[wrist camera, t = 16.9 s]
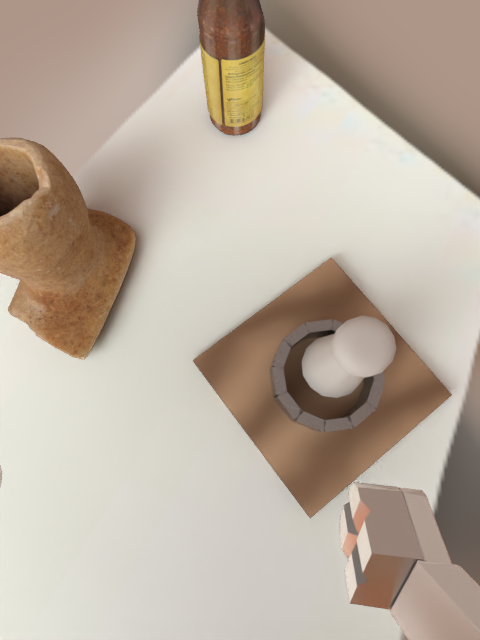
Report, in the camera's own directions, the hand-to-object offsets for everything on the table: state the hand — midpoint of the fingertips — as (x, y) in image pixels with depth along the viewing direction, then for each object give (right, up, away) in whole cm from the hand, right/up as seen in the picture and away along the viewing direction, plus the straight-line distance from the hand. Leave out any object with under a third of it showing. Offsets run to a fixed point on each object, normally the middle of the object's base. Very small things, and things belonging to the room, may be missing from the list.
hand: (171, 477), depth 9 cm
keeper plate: (+10, -2, +32) cm, 33 cm away
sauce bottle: (+1, +28, +40) cm, 49 cm away
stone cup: (-16, +8, +34) cm, 39 cm away
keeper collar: (+10, -2, +32) cm, 33 cm away
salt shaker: (+10, -1, +31) cm, 33 cm away
